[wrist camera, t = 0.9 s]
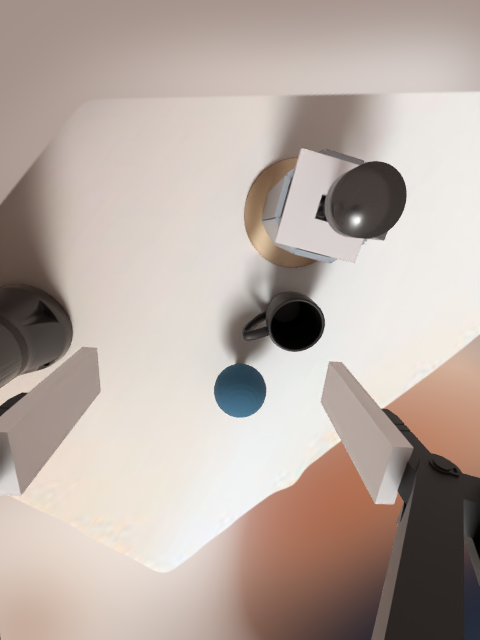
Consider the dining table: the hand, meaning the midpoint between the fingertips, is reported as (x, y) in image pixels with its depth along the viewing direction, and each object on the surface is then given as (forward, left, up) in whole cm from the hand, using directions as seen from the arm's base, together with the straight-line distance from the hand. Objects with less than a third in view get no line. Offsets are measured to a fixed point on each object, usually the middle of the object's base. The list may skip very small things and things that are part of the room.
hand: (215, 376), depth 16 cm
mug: (+9, -4, -33) cm, 34 cm away
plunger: (+8, +12, -19) cm, 24 cm away
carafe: (+9, +12, -32) cm, 36 cm away
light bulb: (+6, -16, -33) cm, 37 cm away
